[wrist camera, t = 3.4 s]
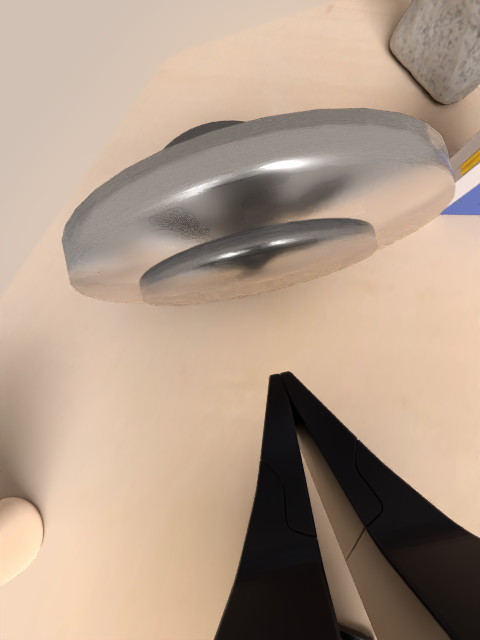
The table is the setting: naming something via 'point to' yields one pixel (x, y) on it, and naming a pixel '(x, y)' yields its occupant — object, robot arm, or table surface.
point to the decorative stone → (441, 46)
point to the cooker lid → (258, 207)
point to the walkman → (466, 179)
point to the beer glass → (18, 536)
